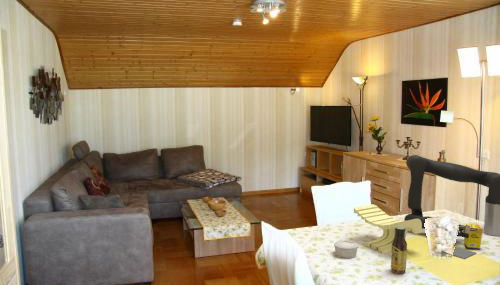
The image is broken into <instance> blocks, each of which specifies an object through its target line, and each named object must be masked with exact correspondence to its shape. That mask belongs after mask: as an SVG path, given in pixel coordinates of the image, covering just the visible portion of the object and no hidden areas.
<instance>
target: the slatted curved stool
mask: <svg viewBox="0 0 500 285" xmlns="http://www.w3.org/2000/svg"><path fill="white" fill-rule="evenodd" d="M353 213H354V214H357V217H360V220H363V221H364V223H367V224H370V225H372V226H373V227H374V226H375V227H378V228H380V229H382V232H383V234H382V235H381V236H380V237H378V238H376V239H374V240H370V241H366V242H365V244H364V246H365V247H368V248H371V249H372V250H374V251H377V252H379V253H381V254H387V253H391V252H392V243H393V241H394V238H395V234H396V231H395V227H396V226H402V227H405V238H404V239H405V240H406V239H407V234H408V232H412V233H413V234H415V235H417V234H421V233H422V232H423V228H422V222H421V220H420V219H418V218H417V219H412V220H407V221H404V219H403V220H400V219H398V218H395V217H394V216H390V215H389V214H387V213H386V212H385V211H383V210H382V209H381V208H380V207H379V206H378V205H376V204H367V205H361V206H355V207H353ZM406 241H407V240H406Z"/></svg>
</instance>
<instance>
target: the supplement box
mask: <svg viewBox="0 0 500 285" xmlns="http://www.w3.org/2000/svg"><path fill="white" fill-rule="evenodd" d="M465 226H466V229H465V233H468V234H469V238H464V237H463V238H464V239H463V245H464V246H465V248H466V249H469V250H470V249H471V250H478V251H479V250H481V246H482V245H481V243H482V238H483V237H482V236H483V231H484V228H482V227H481V226H480V225H479V224H473V223H466V224H465Z"/></svg>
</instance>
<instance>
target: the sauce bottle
mask: <svg viewBox="0 0 500 285" xmlns="http://www.w3.org/2000/svg"><path fill="white" fill-rule="evenodd" d="M395 231H396V234H395V238H394V241H393V243H392V252H390V254H391V255H390V257H391V258H390V270H391V271H392V272H393V273H394V274H405V273H406V270H407V260H408V259H407V256H408V255H407V253H408V242H407V240H405V239H404V238H405V227H402V226H396V227H395Z"/></svg>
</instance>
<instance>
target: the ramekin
mask: <svg viewBox="0 0 500 285" xmlns="http://www.w3.org/2000/svg"><path fill="white" fill-rule="evenodd" d="M333 246H334V251H335V252H334V253H335V254H336V255H337V256H338V257H340V258H343V259H351V258H355V256H357V251H358V248H359V244H358V243H356V242H354V241H353V240H352V241H351V240H337V241H335V242H334V244H333Z"/></svg>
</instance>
